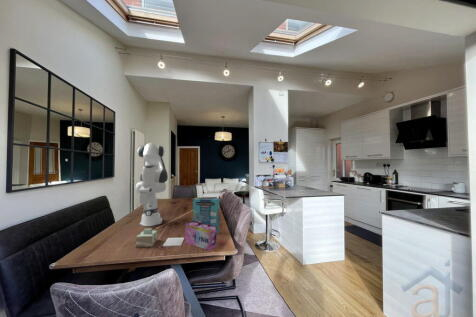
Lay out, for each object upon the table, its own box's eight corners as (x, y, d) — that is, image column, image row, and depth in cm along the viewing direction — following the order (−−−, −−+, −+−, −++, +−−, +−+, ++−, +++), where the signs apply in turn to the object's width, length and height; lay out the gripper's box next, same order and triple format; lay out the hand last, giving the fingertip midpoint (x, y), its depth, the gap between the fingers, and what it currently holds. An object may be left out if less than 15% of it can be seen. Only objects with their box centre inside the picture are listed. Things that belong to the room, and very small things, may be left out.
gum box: (218, 247, 129) (219, 226, 129) (210, 251, 122) (211, 229, 123) (193, 239, 142) (193, 220, 142) (184, 242, 135) (185, 223, 136)
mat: (168, 238, 143) (168, 237, 143) (184, 238, 144) (184, 237, 144) (162, 246, 129) (162, 245, 129) (180, 245, 130) (180, 245, 130)
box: (142, 240, 139) (143, 230, 139) (157, 239, 140) (157, 230, 140) (135, 247, 127) (136, 236, 128) (151, 246, 128) (151, 236, 128)
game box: (219, 231, 159) (219, 198, 159) (217, 234, 152) (218, 199, 153) (194, 230, 161) (195, 197, 161) (192, 233, 154) (192, 199, 155)
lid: (143, 232, 139) (143, 226, 139) (156, 231, 140) (156, 226, 140) (137, 237, 128) (137, 231, 128) (151, 237, 129) (152, 231, 129)
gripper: (149, 187, 145) (148, 205, 145) (137, 190, 125) (137, 212, 124) (157, 187, 146) (157, 205, 145) (147, 190, 125) (147, 211, 125)
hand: (148, 208), depth 135 cm, fingers open, 8 cm apart
